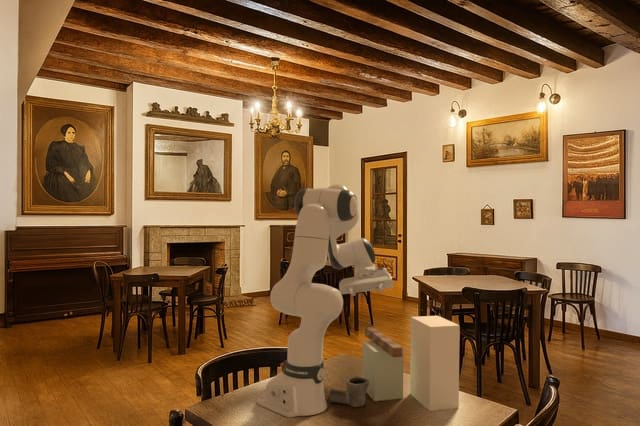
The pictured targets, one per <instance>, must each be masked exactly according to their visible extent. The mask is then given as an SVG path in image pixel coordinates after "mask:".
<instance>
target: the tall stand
mask: <svg viewBox="0 0 640 426" xmlns="http://www.w3.org/2000/svg"><path fill="white" fill-rule="evenodd" d="M460 326H461V325H459V324H457V323H456V322H453V321H451V320H449V319H446V318H444V317H442V316H440V315H425V316H424V315H423V316H421V315H419V316H410V353H409V354H410V357H409V359H410V362H409V363H410V366H409V367H410V369H409V371H410V372H409V373H410V374H409V377H410V378H409V394H410V395H411V396H412V397H413V398H414V399H416V400H417V401H418V402H419V403H420V404H421V405H422V406H423V407H424V408H426V409H427V410H428V411H429V412H433V411H434V412H435V411H443V410H455V409H459V407H460V405H459V404H460V401H459V399H460V336H461V335H460V330H461V329H460V328H461V327H460Z"/></svg>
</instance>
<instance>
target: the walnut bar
mask: <svg viewBox="0 0 640 426" xmlns="http://www.w3.org/2000/svg"><path fill="white" fill-rule="evenodd" d="M364 337H366V338H368V339H369V341H373V342H374V343H375V344H377V345H378V346H379V347H380V348H382V349H383V350H384V351H386V352H387V353H388V354H390V355H391V356H392V357H402V349H403V346H401V345H400V344H399V343H397V342H396V341H394V340H392V339H391V338H389V337H388V336H387V335H385V334H384V333H382V332H381V331H379V330H377V329H376V328H374V327H373V326H371V327H370V326H368V327H364ZM403 350H404V349H403Z"/></svg>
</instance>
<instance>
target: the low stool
mask: <svg viewBox="0 0 640 426" xmlns="http://www.w3.org/2000/svg"><path fill="white" fill-rule="evenodd" d="M361 351H362V354H361V355H362V356H361V359H362V361H361V362H362V363H361V365H362V366H361V367H362V368H361V378H365V379H367V380H368V381H369V385H368V387H367V391H366V394H367V395H368V396H369V397H370V398H371V399H372V400H373V401H374V402H380V400H381V401H390V400H401V399H403V398H404V349H402V357H392V356H391V355H390V354H388V353H387V352H386V351H384V350H383V349H382V348H380V347H379V346H378V345H377V344H375V343H374V342H373V341H371V340H369V341H368V340H367V341H366V340H365V341H362V350H361Z"/></svg>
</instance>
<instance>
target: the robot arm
mask: <svg viewBox="0 0 640 426" xmlns="http://www.w3.org/2000/svg"><path fill="white" fill-rule="evenodd" d="M293 201H294V202H293V207H294V212H295V213H296V215H297V221H296V224H295V231H294V239H293V246H292V254H291V260H290V263H289V265H288V268H287V270H286V273H284V275H283V277H282V278H281V279H280V280H279V281H278V282H276V283H275V284H274V285H273V287H272V289H271V291H270V294H269V295H270V296H269V297H270V298H269V300H270V304H271V306H272V308H273V309H274V310H276V311H278V312H280V313H283V314H284V315H289V316H294V317H298V318H300V325H299V327H298V328H297V329H294V330H293V331H291V333H290V334H289V335H288V338H287V357H286V358H287V359H286V360H284V361H283V362H281V363H280V367H279V368H282V366H284V368H283V371H282V370H281V372H279V373H278V374H276V375H275V376H274V377H273V378H271V379H270V380H269V381H268V382H267V383H266V385H265V389H264V393H263V394H262V395H260V396H259V397H258V399H257V402H256V404H257V405H258V406H261V407H263V408H265V409H268V410H270V411H272V412H275V413H277V414H279V415H282V416H284V417H286V418H295V417H298V416H299V417H301V416H302V417H304V416H313V415H318V414H320V413H322V412H324V411H326V409H327V408H328V404H327V400H326V395H325V388H324V377H325V376H324V375H325V366H324V365H325V363H324V360H323V355H324V354H323V353H324V352H323V351H324V339H325V334H326V331H327V329H328V328H329V326H330V324H331V323H332V322H333V321H335V320H336V319H337V318H338V317H339V316H340V315H341V313H342V310H343V307H344V299H343V295H346V294H347V295H348V294H349V295H351V296H352V297H354V296H357V293H362V292H363V293H364V292H370V291H371V292H372V291H376V292H377V294H378V293H379V294H380V293H382V291H383V290H387V289H389V290H390V289H392V288H393V287H394V284H393V283H394V282H393V278H392V275H391V273H390V272H388V270H387V268H386V267H377V266H376V264H375V261H376V254H375V251H374V247H373V244H372V243H371V241H370V240H368V239H367V238H364V237H361V238H357V239H353V240H350V241H347V242H343V243H338V242H337V239H338V238H339V237H340V236H343V235H344V234H346V233H348V232H350V231H351V230H353V228H354V227H355V226H356V225H357V224H358V221H359V215H360V214H359V210H358V204H359V203H358V199H357V196H356V194H355V193H354V192H353V191H351V190H349V189H348V188H347V187H346V186H345V185H343V184H341V183H339V184H338V183H335V184H332V185H330V186H328V187H317V188H309V187H308V188H303V189H300V190H299V191H298V192H297V193H296V194H295V196H294V200H293ZM327 262H329V264H330V267H331V268H333V269H335V270H338V271H340V270H343V269H345V268H347V267H351V266H354V271H353V272H354V275H353V276H352V277H347V278H342V279H341V280H340V281H339V283H338V286H339V287H338V288H339V289H338V288H335V287H333V286H331V285H327V284H324V283H316V282H315V283H314V282H312V281H313V277H314V275H315V274H316V272H317V271H320V270H321V269H323V268H324V267H325V266H326V265H327Z"/></svg>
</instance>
